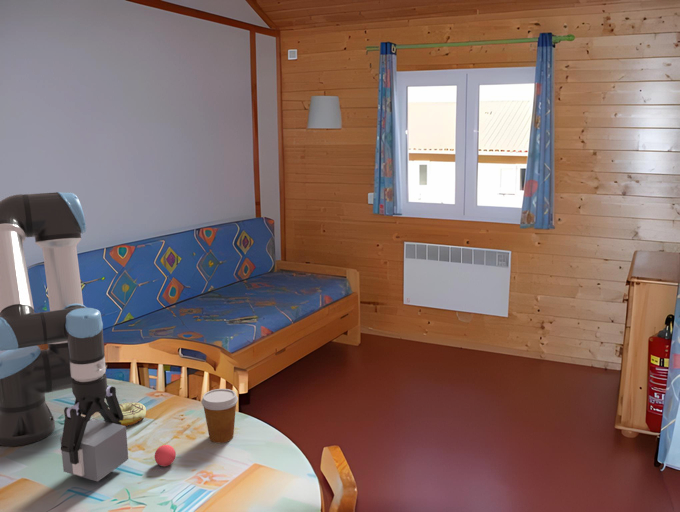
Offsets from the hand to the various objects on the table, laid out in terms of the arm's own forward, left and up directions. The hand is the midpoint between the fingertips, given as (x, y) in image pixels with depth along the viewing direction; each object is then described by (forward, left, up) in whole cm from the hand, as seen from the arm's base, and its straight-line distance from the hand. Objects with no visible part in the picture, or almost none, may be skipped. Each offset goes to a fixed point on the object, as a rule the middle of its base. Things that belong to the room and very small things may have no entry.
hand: (96, 462), depth 148 cm
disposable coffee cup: (+17, +27, -3) cm, 32 cm away
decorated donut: (-13, +26, -4) cm, 29 cm away
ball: (+12, +10, -1) cm, 16 cm away
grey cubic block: (0, 0, -1) cm, 1 cm away
